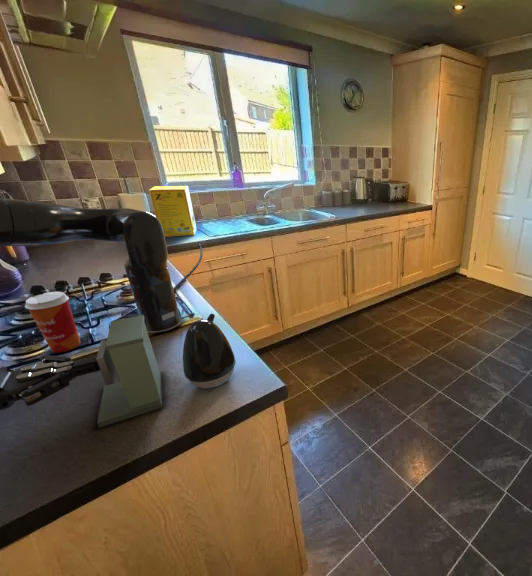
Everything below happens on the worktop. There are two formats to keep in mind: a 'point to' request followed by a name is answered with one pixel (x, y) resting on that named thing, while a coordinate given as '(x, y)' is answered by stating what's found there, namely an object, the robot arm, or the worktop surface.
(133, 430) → the worktop surface
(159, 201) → the packaging box
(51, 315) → the paper cup
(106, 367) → the plate
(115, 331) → the dispenser housing
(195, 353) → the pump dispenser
